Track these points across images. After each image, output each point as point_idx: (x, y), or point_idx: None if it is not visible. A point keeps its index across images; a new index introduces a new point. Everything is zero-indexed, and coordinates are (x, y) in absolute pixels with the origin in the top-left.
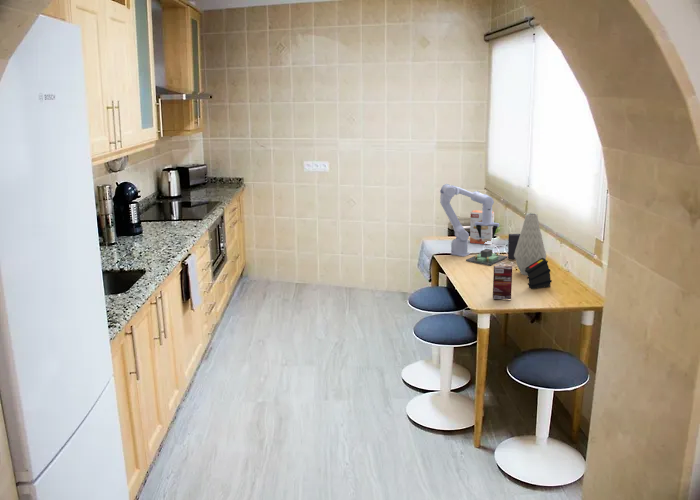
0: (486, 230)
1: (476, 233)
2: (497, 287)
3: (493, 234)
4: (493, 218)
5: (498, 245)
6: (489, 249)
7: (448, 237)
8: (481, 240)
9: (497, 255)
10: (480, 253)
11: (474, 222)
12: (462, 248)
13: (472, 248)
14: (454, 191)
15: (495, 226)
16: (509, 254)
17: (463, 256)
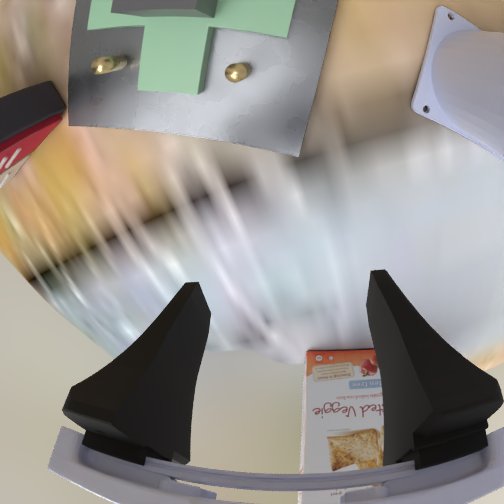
0: (338, 428)
1: None
2: None
3: (157, 321)
4: (298, 502)
5: (263, 351)
6: (144, 1)
7: (490, 365)
8: (364, 366)
9: (108, 56)
10: (313, 97)
11: None
12: (494, 32)
13: (411, 265)
14: None
15: (103, 445)
16: (19, 92)
17: (438, 6)
